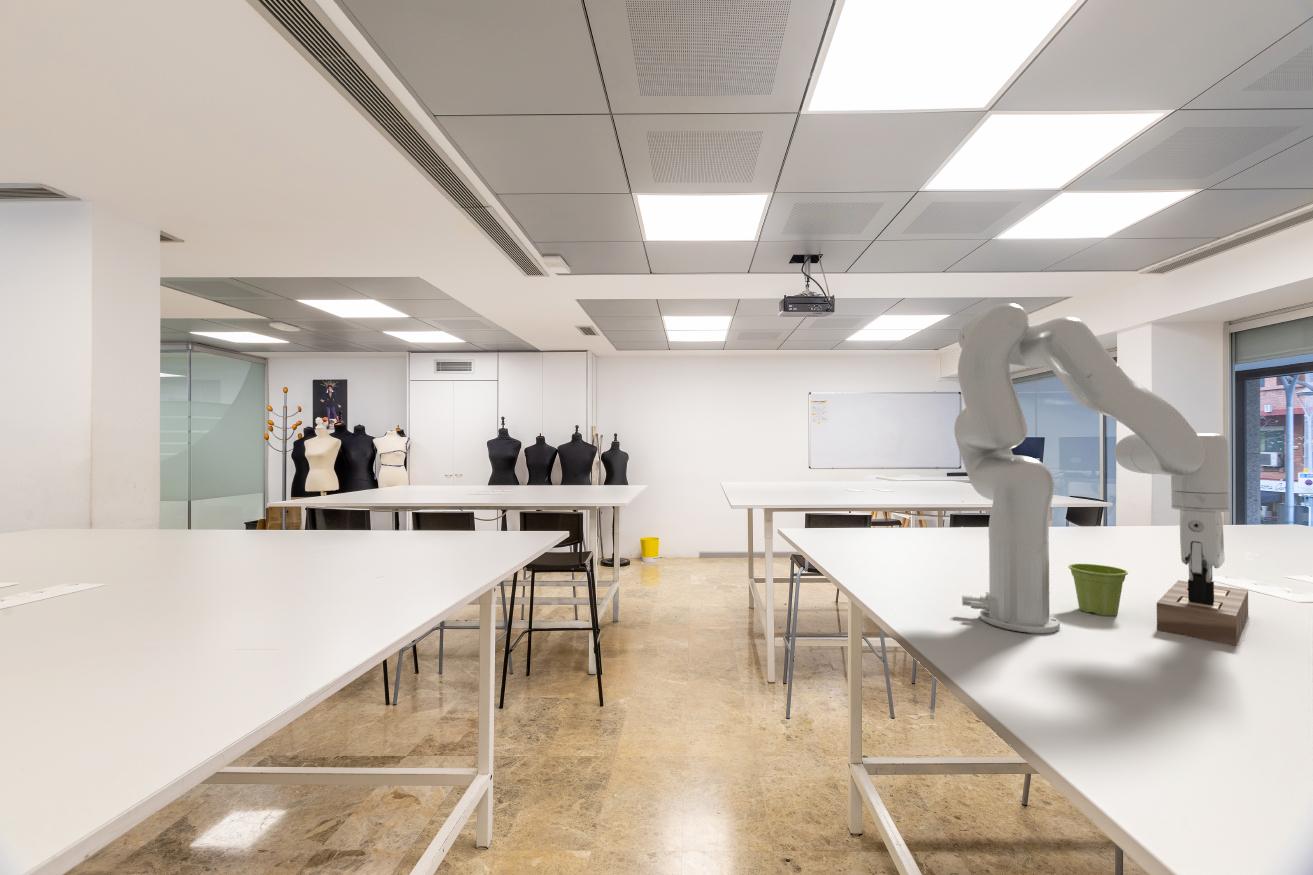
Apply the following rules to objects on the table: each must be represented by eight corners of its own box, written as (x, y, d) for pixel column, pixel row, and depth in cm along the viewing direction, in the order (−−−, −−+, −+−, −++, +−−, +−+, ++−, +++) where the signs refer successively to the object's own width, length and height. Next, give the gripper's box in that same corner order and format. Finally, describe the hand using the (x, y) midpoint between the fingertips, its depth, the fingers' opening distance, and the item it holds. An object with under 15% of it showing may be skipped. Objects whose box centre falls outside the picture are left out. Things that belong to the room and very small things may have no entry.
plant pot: (1058, 603, 117) (1058, 562, 117) (1108, 605, 116) (1107, 563, 116) (1086, 617, 108) (1086, 573, 108) (1140, 619, 107) (1140, 574, 107)
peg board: (1236, 645, 93) (1236, 615, 93) (1156, 630, 101) (1156, 602, 101) (1248, 615, 109) (1248, 589, 109) (1178, 604, 116) (1178, 580, 116)
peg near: (1217, 636, 97) (1217, 608, 97) (1178, 628, 101) (1178, 602, 101) (1221, 629, 101) (1220, 603, 101) (1183, 622, 104) (1182, 597, 104)
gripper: (1224, 506, 93) (1226, 616, 93) (1233, 499, 103) (1235, 599, 103) (1164, 503, 99) (1166, 606, 99) (1178, 496, 109) (1179, 591, 109)
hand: (1201, 602), depth 101 cm, fingers closed
